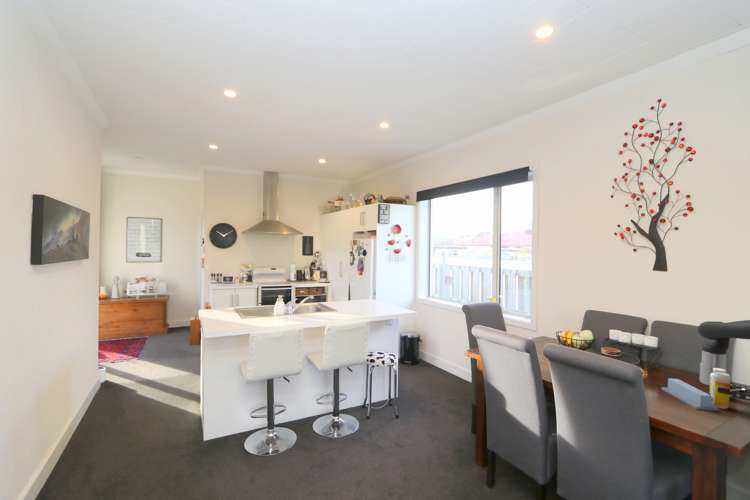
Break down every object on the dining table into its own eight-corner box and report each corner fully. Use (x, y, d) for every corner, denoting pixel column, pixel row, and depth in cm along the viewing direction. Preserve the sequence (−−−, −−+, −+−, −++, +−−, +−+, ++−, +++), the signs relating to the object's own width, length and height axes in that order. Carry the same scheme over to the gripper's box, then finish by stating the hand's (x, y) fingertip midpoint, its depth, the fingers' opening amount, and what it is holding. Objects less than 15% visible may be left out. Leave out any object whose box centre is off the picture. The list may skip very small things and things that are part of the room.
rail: (661, 389, 181) (661, 377, 180) (680, 390, 180) (681, 378, 180) (696, 409, 159) (697, 395, 159) (718, 410, 158) (719, 397, 158)
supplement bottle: (723, 393, 176) (724, 368, 176) (731, 399, 170) (732, 372, 170) (706, 391, 179) (707, 366, 178) (713, 397, 172) (715, 370, 172)
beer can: (732, 410, 159) (734, 376, 159) (716, 408, 160) (718, 375, 160) (722, 404, 165) (723, 371, 164) (707, 402, 166) (708, 370, 166)
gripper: (766, 383, 158) (715, 374, 168) (773, 393, 147) (718, 383, 157) (765, 400, 158) (715, 390, 169) (772, 411, 147) (717, 400, 158)
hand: (716, 386), depth 163 cm, fingers open, 8 cm apart
